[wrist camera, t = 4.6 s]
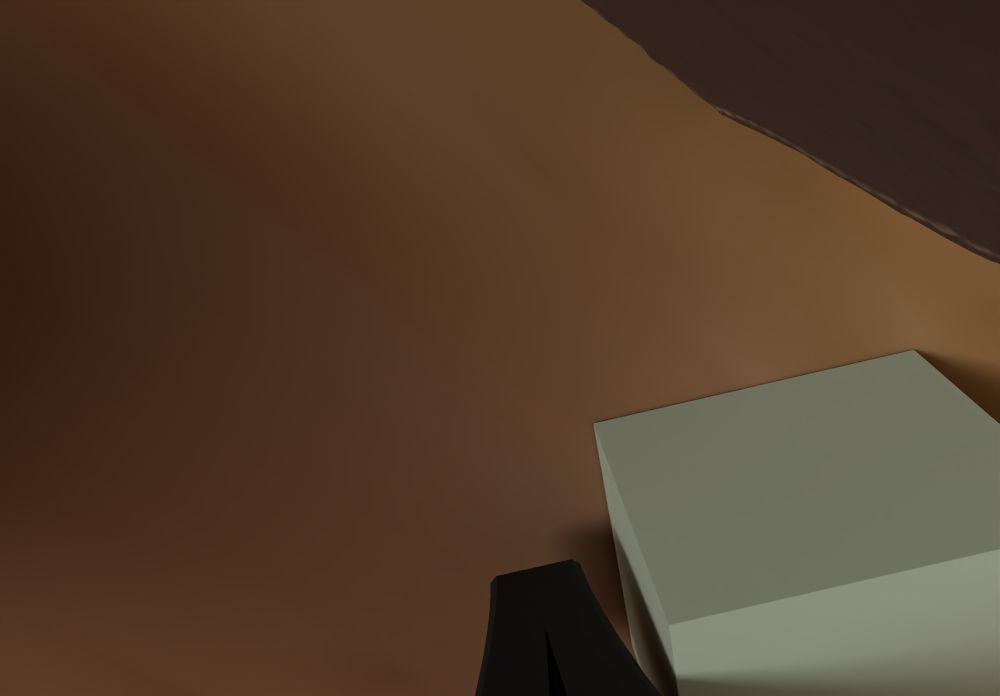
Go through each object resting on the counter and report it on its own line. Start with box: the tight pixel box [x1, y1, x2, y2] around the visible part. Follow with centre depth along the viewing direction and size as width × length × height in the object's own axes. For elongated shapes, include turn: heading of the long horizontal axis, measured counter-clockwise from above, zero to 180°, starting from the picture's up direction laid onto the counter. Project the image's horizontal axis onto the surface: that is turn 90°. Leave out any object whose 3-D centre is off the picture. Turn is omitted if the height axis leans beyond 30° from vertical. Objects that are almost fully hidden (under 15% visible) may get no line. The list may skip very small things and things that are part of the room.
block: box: [594, 350, 1000, 696], centre depth 12 cm, size 5×5×4 cm
